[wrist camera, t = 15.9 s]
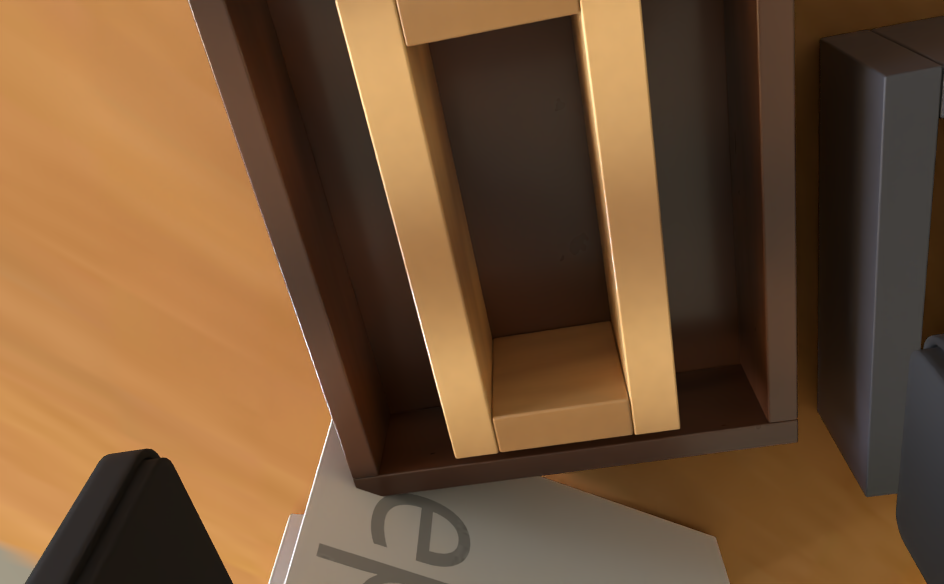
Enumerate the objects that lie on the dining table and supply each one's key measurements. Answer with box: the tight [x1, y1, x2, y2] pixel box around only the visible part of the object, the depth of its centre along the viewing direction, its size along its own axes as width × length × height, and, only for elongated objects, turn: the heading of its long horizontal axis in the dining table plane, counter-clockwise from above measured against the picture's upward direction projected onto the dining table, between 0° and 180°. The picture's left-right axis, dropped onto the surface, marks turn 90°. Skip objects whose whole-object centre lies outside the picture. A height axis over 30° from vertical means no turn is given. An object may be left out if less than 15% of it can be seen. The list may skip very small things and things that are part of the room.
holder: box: [188, 0, 798, 496], centre depth 21 cm, size 16×13×4 cm
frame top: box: [335, 0, 680, 459], centre depth 20 cm, size 12×6×4 cm, turn 11°
